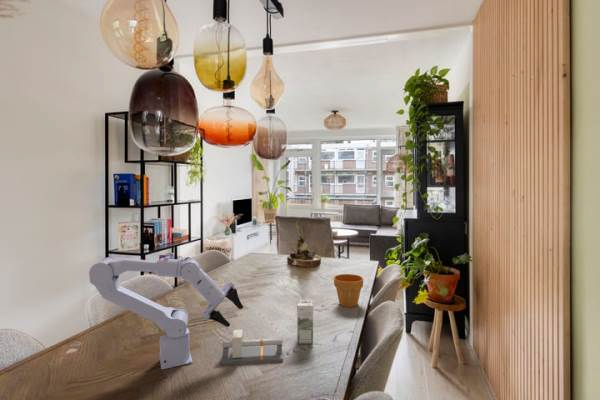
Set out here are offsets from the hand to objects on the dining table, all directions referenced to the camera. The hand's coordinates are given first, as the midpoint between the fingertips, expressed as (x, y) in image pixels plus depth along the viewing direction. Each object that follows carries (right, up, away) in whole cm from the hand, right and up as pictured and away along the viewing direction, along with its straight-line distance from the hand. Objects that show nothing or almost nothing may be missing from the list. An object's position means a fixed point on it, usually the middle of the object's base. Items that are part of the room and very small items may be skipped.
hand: (235, 316), depth 113 cm
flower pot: (+46, -11, +48) cm, 68 cm away
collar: (+1, -11, -2) cm, 12 cm away
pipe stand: (+6, -13, -2) cm, 14 cm away
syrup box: (+24, -13, +10) cm, 29 cm away
